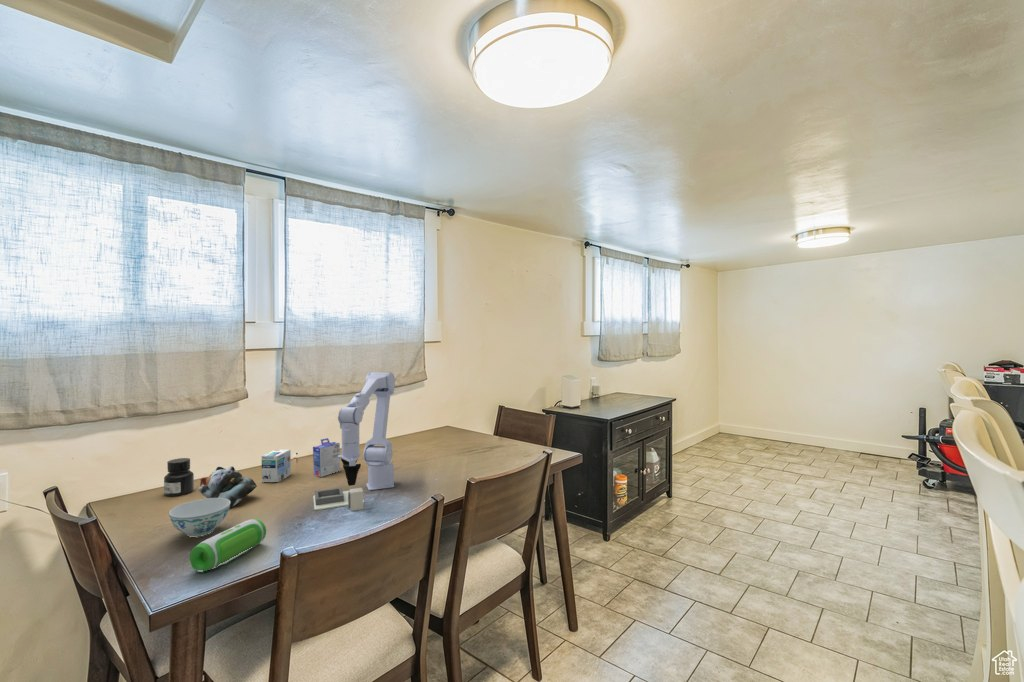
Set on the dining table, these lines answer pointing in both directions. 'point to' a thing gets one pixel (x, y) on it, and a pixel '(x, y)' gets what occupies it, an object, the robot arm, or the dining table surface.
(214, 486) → the grey animal figurine
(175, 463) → the ink bottle
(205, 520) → the chinaware
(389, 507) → the dining table surface
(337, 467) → the ink cartridge box
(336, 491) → the socket board
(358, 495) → the plug
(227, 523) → the dining table surface
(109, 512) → the dining table surface
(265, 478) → the light bulb box
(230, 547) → the speaker
